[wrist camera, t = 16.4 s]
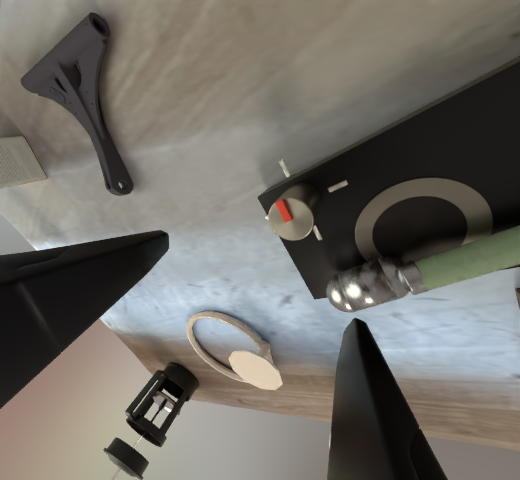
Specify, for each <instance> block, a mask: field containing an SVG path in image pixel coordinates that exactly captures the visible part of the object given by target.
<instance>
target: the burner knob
mask: <svg viewBox="0 0 520 480" xmlns="http://www.w3.org/2000/svg"><path fill="white" fill-rule="evenodd" d="M321 206H322V199H321V195H320V193H319V192H318V190H317V189H316V188H315V187H314V186H312V185H310V184H307V183H296V184H293V185H292V186H290V187H289V188H288V189H287V190H286V191H285V192H284V193H283V194H282V195H281V196H280V197H279V198H278V199H277V200H276V201H275V202H274V204H273V205H272V206H271V208H270V210H269V215H268V218H269V223H270V226H271V228H272V230H273V231H274V232H275V233H276V234H277V235H278V236H280V237H282V238H284V239H286V240H300V239H303V238H304V237H306V236H307V235H308V234H309V233H310V232H311V231H312V229H313V226H314V224H315V221H316V219H317V217H318V214H319V212H320V209H321Z"/></svg>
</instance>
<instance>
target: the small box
mask: <svg viewBox="0 0 520 480" xmlns="http://www.w3.org/2000/svg"><path fill="white" fill-rule="evenodd" d="M44 179H47V177H46V175H45V173H44V171H43V170H42V168H41V166H40V164H39V163H38V161H37V159H36V157H35V155H34V154H33V152H32V150H31V148H30V146H29V145H28V143H27V141H26V140H25V138H24V137H23V136H16V137H4V138H0V189H1V188H5V187H10V186H15V185H20V184H25V183H29V182H34V181H39V180H44Z"/></svg>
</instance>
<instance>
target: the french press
mask: <svg viewBox="0 0 520 480" xmlns="http://www.w3.org/2000/svg"><path fill="white" fill-rule="evenodd" d="M157 379H158V382H157V383H156V385H155V386H154V387H153V388H152V390H151V391H150V392H149V394H148V395H147V396H146V398H145V399H144V400H143V402H142V403H141V404H140V406H139V407H138V408H137V410H136V411H135V412H133V411H134V410H135V408H136V407H137V406H138V404H139V403H140V402H141V400H142V399H143V397H144V396H145V395H146V394H147V392H148V391H149V390H150V388H151V387H152V386H153V384H154V383H155V382H156V381H157ZM198 386H199V383H198V381H197V379H196V378H195V377H194V375H193V374H192V373H191V372H189V371H188V370H187V369H185V368H184V367H182V366H180V365H178V364H176V363H168V364H167V366H166V368H165V370H164V371H161V370H158V371H157V372H156V373H155V374H154V375H153V377H152V378H151V379H150V381H149V382H148V383H147V384H146V386H145V387H144V388H143V389H142V391H141V392H140V393H139V394H138V396H137V397H136V398H135V400H134V401H133V402H132V403H131V405H130V406H129V407H128V408H127V410H126V411H125V414H126V415H127V416H128V418H127V419H126V421H127V423H128V424H129V425H130V426H131V428H133V429H134V430H135V431H136V432H137V433H138V434H140V435H141V437H140V438H139V439H138V441H137V442H136V444H135V445H134V447H133V448H132V447H131V446H130V445H128V444H127V443H125V442H124V441H122V440H121V439H119V438H115V439H114V440H113V442H112V443H111V444H110V446H109V447H108V448H107V449H106V448H104V452H106V454H108V456H109V459H110V460H111V461H112V462H113V463H114V464H116V465H117V466H118V467H119V469H118V470H117V472H116V473H115V475H114V476H113V478H112V479H111V480H114V478H115V477H116V475H117V474H118V472H119V471H120V469H122V470H123V471H125V472H126V473H127V474H129V475H130V476H134V477H137V478H139V479H141V480H142V479H143V477H142V474H143V472H144V471H145V469H146V467H147V466H148V464H149V462H148V461H147V460H146V459H145V458H144V457H143V456H142V455H141V454H140V453H139V452H137V451H136V450H135V447H136V446H137V444H138V443H139V441H140V440H141V438H142V437H144V438H145V439H146V440H148V441H149V442H151V443H152V444H154V445H156V446H159V447H162V445H163V443H164V442H165V440H166V436H165V434H166V432H167V430H168V429H169V427H170V425H171V424H172V422H173V420H174V419H175V417H176V415H179V413H180V409H181V407H182V405H183V404H184V402H185V401H189V400H190V398H191V396H192V395H193V393H194V391H195V390H196V389H197V388H198ZM163 389H165V390H166V391H167V392H168V393H170V394H171V395H172V396H174V397H175V398H177V399H178V401H177V402H175V401H174V400H172V399H171V398H170V397H169V396H167V395H166V394H164V393H163V392H162V390H163ZM154 402H155V403H156V404H158V405H159V410H158V412H157V413H156V414H155V416H154V417H153V419H152V420H151V422H150V421H149V420H148V419H146V418H144V415H145V414H146V413H147V411H148V410H149V408H150V407H151V406H152V404H153V403H154ZM162 409H164V410H166V411H167V412H169V415H168V416H167V418H166V419H165V421H164V423H163V424H162V426H161V427H160V429H159V428H158V427H157V426H155V425H154V424H153V423H152V422H153V420H154V419H155V417H156V415H157V414H158V413H159V411H160V410H162Z"/></svg>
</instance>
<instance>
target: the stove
mask: <svg viewBox="0 0 520 480" xmlns="http://www.w3.org/2000/svg"><path fill="white" fill-rule="evenodd" d="M279 163H280V165H281V167H282V169H283V171H284V173H285V175H286V177H287V178H288V177H289V176H291V174H290V172H289V170H288V168H287V166H286V164H285V162H284V160H283V159H282V160H280V161H279ZM424 177H439V178H447V179H451V180H456V181H458V182H461V183H464V184H466V185H468V186H469V187H471V188H473V189H474V190H476V191H477V192H478V193H479V194H480V195H481V196H482V197H483V198H484V199H485V200H486V202H487V203H488V205H489V207H490V210H491V213H492V218H493V226H492V231H491V235H493V234H496V233H498V232H501V231H504V230H507V229H510V228H513V227H516V226H519V225H520V56H519V57H517V58H515V59H514V60H512V61H510V62H508V63H506V64H504V65H502V66H500V67H498V68H496V69H495V70H493V71H491V72H489V73H487V74H485V75H483V76H481V77H479V78H478V79H476V80H474V81H472V82H470V83H468V84H466V85H464V86H462V87H460V88H459V89H457V90H455V91H453V92H451V93H449V94H447V95H445V96H443V97H441V98H440V99H438V100H436V101H434V102H432V103H430V104H428V105H426V106H424V107H422V108H421V109H419V110H417V111H415V112H413V113H411V114H409V115H407V116H405V117H403V118H402V119H400V120H398V121H396V122H394V123H392V124H390V125H388V126H386V127H385V128H383V129H381V130H379V131H377V132H375V133H373V134H371V135H369V136H367V137H366V138H364V139H362V140H360V141H358V142H356V143H354V144H352V145H350V146H348V147H347V148H345V149H343V150H341V151H339V152H337V153H335V154H333V155H331V156H329V157H328V158H326V159H324V160H322V161H320V162H318V163H316V164H314V165H312V166H311V167H309V168H307V169H305V170H303V171H301V172H299V173H297V174H295V175H293V176H292V177H290V178H288V179H286V180H284V181H282V182H280V183H278V184H276V185H274V186H273V187H271V188H269V189H267V190H266V191H265V192H263V193H262V194H261V195H260V196H258V199H259V201H260V203H261V205H262V207H263V208H264V210H265V212H266V214H267V215H266V216H265V218H266V220H267V219H269V218H268V215H269V210H270V208H271V206H272V205H273V204H274V202H275V201H276V200H277V199H278V198H279V197H280V196H281V195H282V194H283V193H284V192H285V191H286V190H287V189H288V188H289V187H290V186H292V185H293V184H296V183H307V184H310V185H312V186H314V187H315V188H316V189H317V190H318V192H319V193H320V195H321V199H322V206H321V209H320V212H319V214H318V217H317V219H316V221H315V224H314V226H313V229H312V231H311V232H310V233H309V234H308V235H307V236H306V237H304V238H303V239H300V240H286V239H284V238H282V237H280V236H279V237H280V239H281V240H282V242H283V244H284V246H285V248H286V249H287V251H288V253H289V255H290V256H291V258H292V260H293V262H294V264H295V265H296V267H297V269H298V271H299V273H300V274H301V276H302V278H303V280H304V281H305V283H306V285H307V287H308V289H309V290H310V292H311V294H312V296H313V297H314V299H320V298H326V297H327V293H326V288H327V284H328V282H329V280H330V279H331V278H332V277H333V276H334V275H336V274H338V273H340V272H343V271H345V270H348V269H351V268H353V267H356V266H359V265H361V264H364V263H367V261H366V260H365V258H364V257H363V256H362V255H361V253H360V251H359V249H358V247H357V244H356V239H355V229H356V224H357V220H358V218H359V216H360V214H361V212H362V210H363V209H364V207H365V206H366V205H367V204H368V203H369V202H370V201H371V200H372V199H373V198H374V197H375V196H376V195H378V194H379V193H380V192H382V191H384V190H385V189H387V188H389V187H391V186H393V185H395V184H398V183H401V182H404V181H407V180H411V179H416V178H424ZM516 267H520V264H519V265H515V266H512V267H508V268H505V269H510V268H516ZM501 270H503V269H501Z"/></svg>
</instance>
